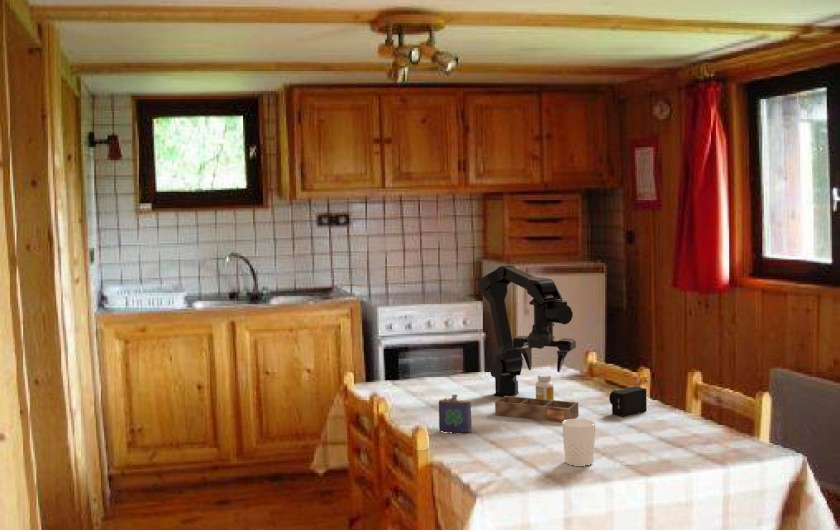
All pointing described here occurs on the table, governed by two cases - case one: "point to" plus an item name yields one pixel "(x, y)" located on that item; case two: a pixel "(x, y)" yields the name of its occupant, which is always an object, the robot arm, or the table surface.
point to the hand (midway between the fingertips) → (544, 371)
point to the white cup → (579, 441)
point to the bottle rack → (536, 408)
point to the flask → (455, 415)
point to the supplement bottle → (544, 387)
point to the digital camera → (628, 401)
